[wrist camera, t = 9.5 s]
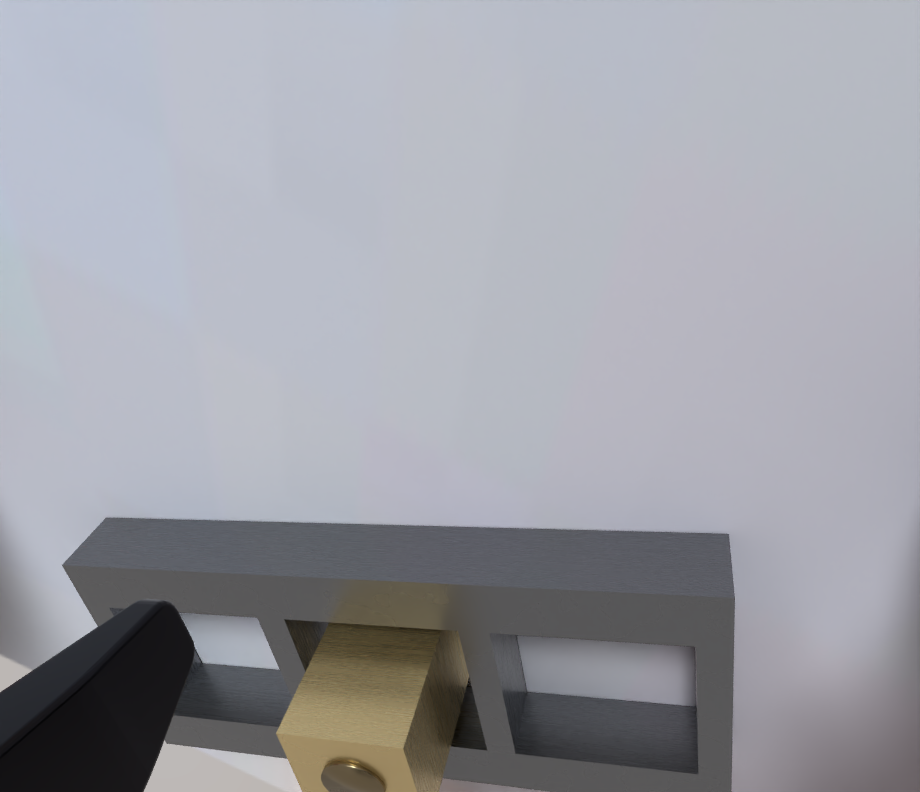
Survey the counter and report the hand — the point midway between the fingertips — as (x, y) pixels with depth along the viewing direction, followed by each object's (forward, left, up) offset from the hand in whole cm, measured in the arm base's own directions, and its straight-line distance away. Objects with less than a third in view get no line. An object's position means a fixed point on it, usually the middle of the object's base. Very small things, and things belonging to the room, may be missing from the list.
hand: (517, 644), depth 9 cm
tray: (+8, +14, -12) cm, 20 cm away
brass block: (+8, +14, -12) cm, 20 cm away
